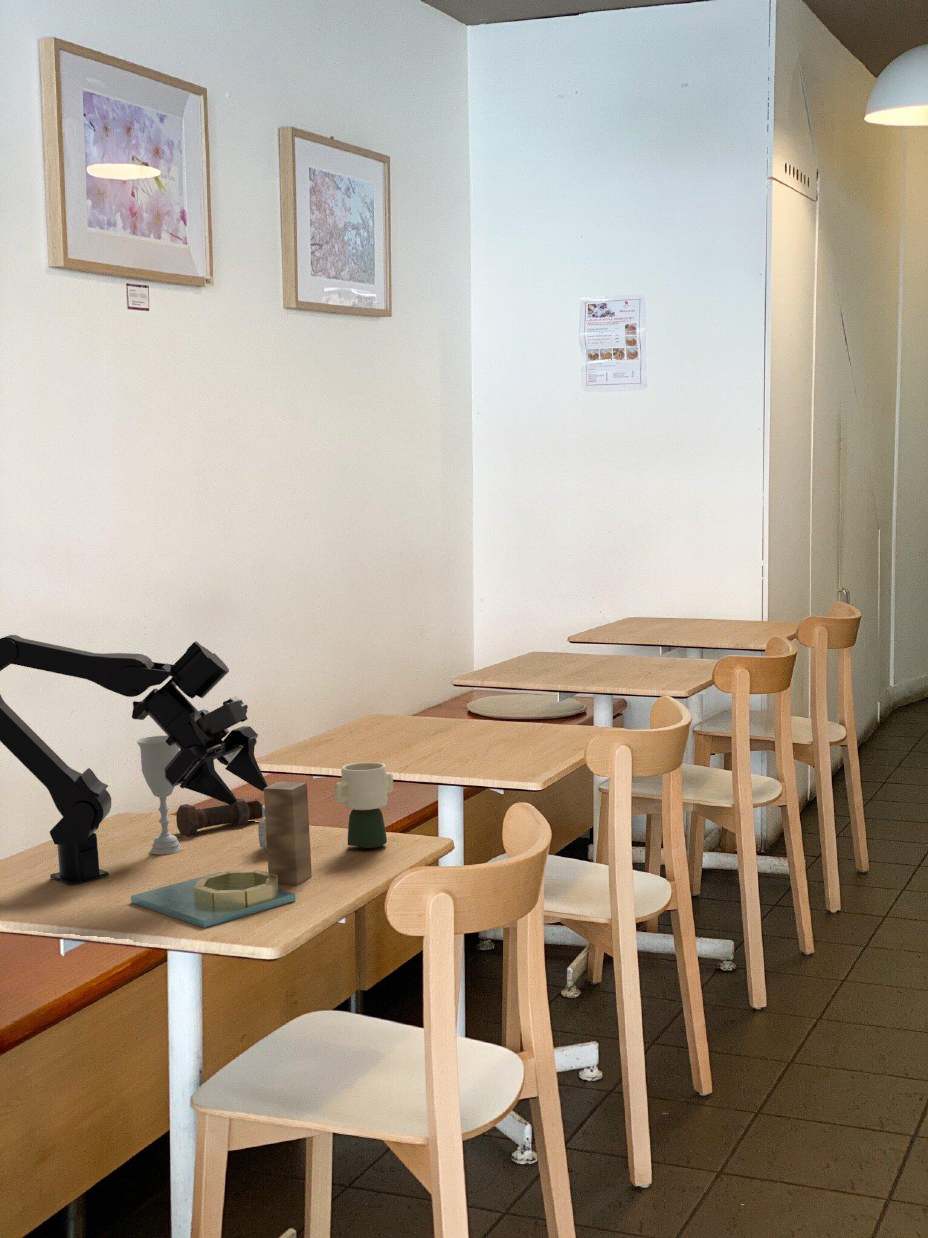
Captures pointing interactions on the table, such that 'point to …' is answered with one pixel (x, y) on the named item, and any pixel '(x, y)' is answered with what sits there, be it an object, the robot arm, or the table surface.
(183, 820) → the bolt
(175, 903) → the socket plate
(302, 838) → the peg
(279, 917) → the table surface
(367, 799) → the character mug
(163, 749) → the chalice
